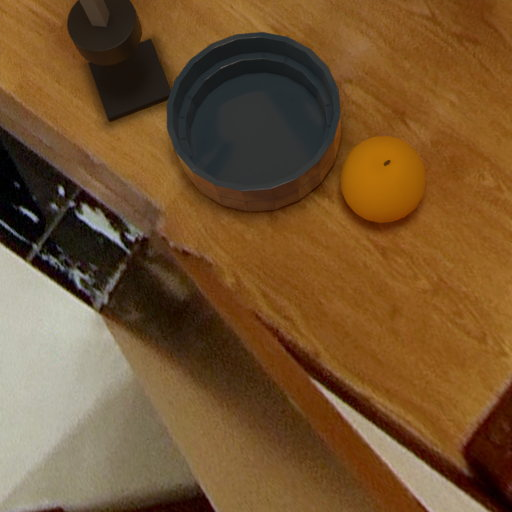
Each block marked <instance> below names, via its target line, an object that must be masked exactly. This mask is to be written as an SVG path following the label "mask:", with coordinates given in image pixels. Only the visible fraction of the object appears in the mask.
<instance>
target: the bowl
mask: <svg viewBox="0 0 512 512" xmlns="http://www.w3.org/2000/svg"><path fill="white" fill-rule="evenodd" d="M340 100H341V99H340V89H339V87H338V85H337V82H336V80H335V78H334V76H333V74H332V72H331V70H330V67H329V66H328V65H327V64H326V62H324V60H322V58H320V56H319V55H317V54H316V53H315V52H314V51H313V49H312V48H310V47H308V46H307V45H305V44H302V43H301V42H299V41H297V40H295V39H293V38H291V37H289V36H288V35H287V36H286V35H282V34H281V35H280V34H276V33H270V32H265V31H257V32H247V33H235V34H232V35H230V36H228V37H225V38H222V39H219V40H217V41H214V42H212V43H210V44H208V45H207V46H206V47H204V48H203V49H202V50H201V51H200V52H198V53H197V54H195V55H194V56H193V57H191V58H190V59H189V60H188V61H187V63H185V66H184V67H183V68H182V69H181V71H180V72H179V73H178V75H177V76H176V77H175V79H174V81H173V83H172V87H171V93H170V96H169V99H168V100H167V102H166V130H167V133H168V136H169V138H170V142H171V144H172V147H173V149H174V152H175V154H176V156H177V159H178V161H179V162H180V165H181V167H182V169H183V171H184V174H185V175H186V177H187V178H188V179H189V180H190V181H191V183H192V184H193V185H194V186H195V188H197V189H198V191H199V192H200V193H201V194H203V195H204V196H207V197H208V198H210V199H211V200H213V201H215V202H216V203H218V204H220V205H221V206H224V207H228V208H232V209H237V210H240V211H245V212H259V211H272V210H277V209H280V208H282V207H285V206H288V205H290V204H293V203H296V202H298V201H300V200H302V199H303V198H304V197H305V196H307V195H308V194H309V193H311V192H312V191H313V190H314V189H316V188H317V187H318V186H319V185H320V184H321V183H322V182H323V180H324V179H325V177H327V175H328V173H329V171H331V169H332V167H333V166H334V164H335V162H336V158H337V155H338V152H339V148H340V144H341V141H342V113H341V101H340Z"/></svg>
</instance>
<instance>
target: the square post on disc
mask: <svg viewBox="0 0 512 512" xmlns="http://www.w3.org/2000/svg"><path fill="white" fill-rule="evenodd" d="M142 26H143V25H142V23H141V20H140V18H139V15H138V13H137V10H136V8H135V5H134V3H133V2H132V1H131V0H77V1H76V2H75V3H74V4H73V5H72V7H71V8H70V10H69V12H68V16H67V19H66V29H67V34H68V36H69V37H70V39H71V40H72V43H73V45H74V46H75V48H76V49H77V51H78V53H79V54H80V56H82V58H83V59H85V60H86V61H88V62H92V63H94V64H98V65H113V64H116V63H119V62H122V61H124V60H125V59H127V58H128V57H129V56H131V55H132V54H133V53H134V52H135V50H136V49H137V47H138V46H139V43H140V42H142V36H143V27H142Z"/></svg>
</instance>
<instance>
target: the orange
mask: <svg viewBox="0 0 512 512" xmlns="http://www.w3.org/2000/svg"><path fill="white" fill-rule="evenodd" d="M339 177H340V191H341V193H342V196H343V198H344V200H345V202H346V204H347V206H349V208H350V209H351V211H353V212H354V213H355V214H356V215H357V216H359V217H361V218H362V219H364V220H366V221H370V222H373V223H379V224H380V223H381V224H383V223H392V222H395V221H398V220H401V219H404V218H405V217H407V216H408V215H409V214H411V213H412V212H413V211H414V210H416V209H417V208H418V206H419V204H420V203H421V201H422V199H423V197H424V195H425V190H426V185H427V175H426V167H425V164H424V162H423V160H422V158H421V156H420V154H419V152H418V151H417V150H416V149H415V148H414V147H413V146H412V145H411V143H409V142H407V141H405V140H403V139H402V138H400V137H397V136H391V135H379V136H372V137H370V138H367V139H365V140H364V139H363V140H362V141H360V142H359V143H358V144H356V145H354V146H353V147H352V148H351V149H350V151H349V152H348V153H347V155H346V157H345V159H344V160H343V164H342V167H341V170H340V176H339Z"/></svg>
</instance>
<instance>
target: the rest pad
mask: <svg viewBox="0 0 512 512" xmlns="http://www.w3.org/2000/svg"><path fill="white" fill-rule="evenodd" d="M87 64H88V68H89V71H90V72H91V75H92V78H93V81H94V84H95V87H96V89H97V94H98V95H99V98H100V101H101V104H102V106H103V109H104V113H105V115H106V118H107V120H108V122H110V123H112V122H114V121H116V120H119V119H121V118H123V117H127V116H129V115H131V114H134V113H137V112H140V111H142V110H144V109H148V108H149V107H153V106H155V105H158V104H160V103H163V102H166V101H168V99H169V96H170V93H171V90H172V88H171V87H170V84H169V82H168V79H167V77H166V74H165V71H164V69H163V66H162V63H161V61H160V59H159V56H158V53H157V51H156V48H155V45H154V43H153V40H152V39H151V38H148V39H146V40H143V41H140V43H139V46H138V47H137V49H136V50H135V52H134V53H133V54H132V55H131V56H129V57H128V58H127V59H125V60H124V61H122V62H119V63H116V64H113V65H98V64H94V63H92V62H89V61H88V62H87Z"/></svg>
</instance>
